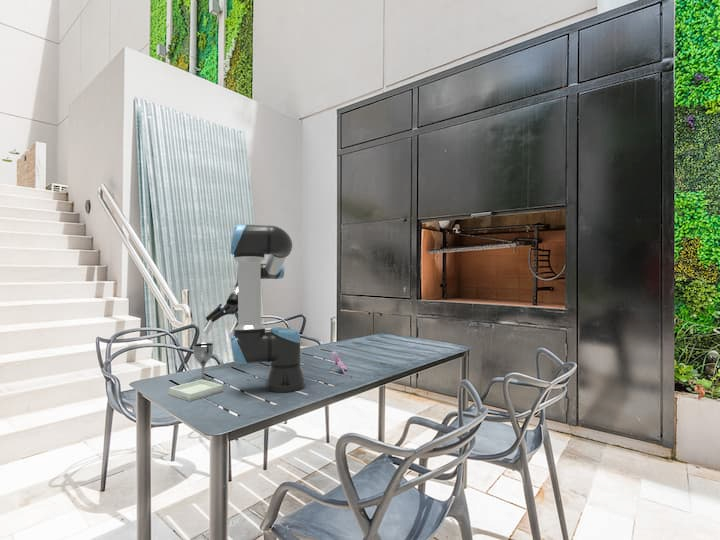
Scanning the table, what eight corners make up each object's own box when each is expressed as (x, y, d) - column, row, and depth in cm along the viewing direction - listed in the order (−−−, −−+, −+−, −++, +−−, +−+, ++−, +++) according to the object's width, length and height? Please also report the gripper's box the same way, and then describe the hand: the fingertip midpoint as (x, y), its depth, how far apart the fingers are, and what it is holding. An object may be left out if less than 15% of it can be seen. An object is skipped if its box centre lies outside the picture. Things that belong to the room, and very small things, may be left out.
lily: (334, 379, 170) (345, 359, 171) (315, 365, 176) (326, 346, 177) (347, 381, 180) (357, 362, 181) (329, 367, 186) (338, 350, 187)
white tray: (222, 391, 149) (222, 385, 149) (189, 401, 138) (189, 394, 138) (202, 385, 157) (202, 379, 157) (169, 394, 146) (169, 387, 146)
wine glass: (188, 380, 164) (188, 345, 164) (204, 376, 171) (204, 342, 171) (201, 383, 160) (201, 347, 160) (217, 378, 167) (217, 343, 167)
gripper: (262, 303, 190) (246, 340, 175) (218, 302, 196) (198, 337, 181) (257, 293, 184) (239, 330, 170) (211, 292, 191) (190, 327, 176)
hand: (218, 333), depth 176 cm, fingers open, 13 cm apart
